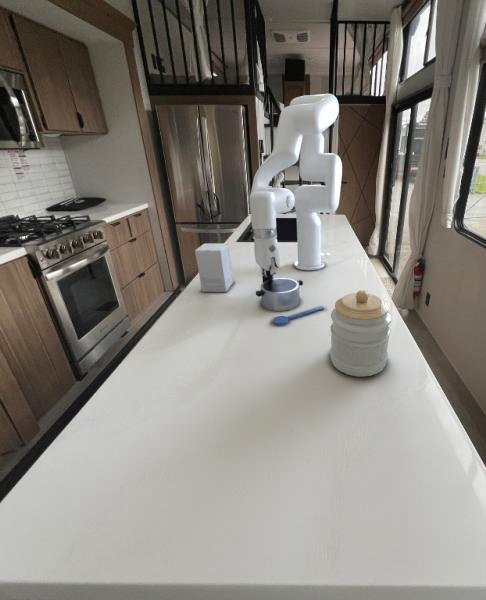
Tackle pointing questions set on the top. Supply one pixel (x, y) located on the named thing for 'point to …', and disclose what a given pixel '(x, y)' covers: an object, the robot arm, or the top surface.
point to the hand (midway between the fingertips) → (268, 286)
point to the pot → (280, 294)
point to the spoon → (294, 316)
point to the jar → (360, 334)
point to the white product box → (214, 267)
